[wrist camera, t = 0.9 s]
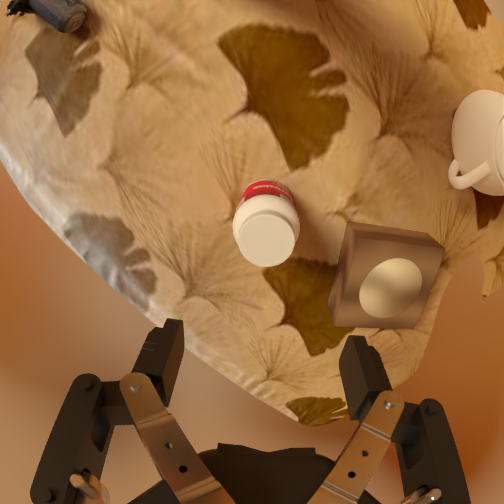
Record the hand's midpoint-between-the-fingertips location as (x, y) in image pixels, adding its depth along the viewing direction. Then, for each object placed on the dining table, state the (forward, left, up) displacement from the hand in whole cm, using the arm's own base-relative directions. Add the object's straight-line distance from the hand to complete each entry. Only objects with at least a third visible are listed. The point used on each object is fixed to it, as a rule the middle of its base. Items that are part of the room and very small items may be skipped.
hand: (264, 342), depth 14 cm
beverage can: (-27, -29, -23) cm, 46 cm away
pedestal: (+7, +16, -23) cm, 29 cm away
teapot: (-14, +28, -23) cm, 39 cm away
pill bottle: (0, 0, -23) cm, 23 cm away
